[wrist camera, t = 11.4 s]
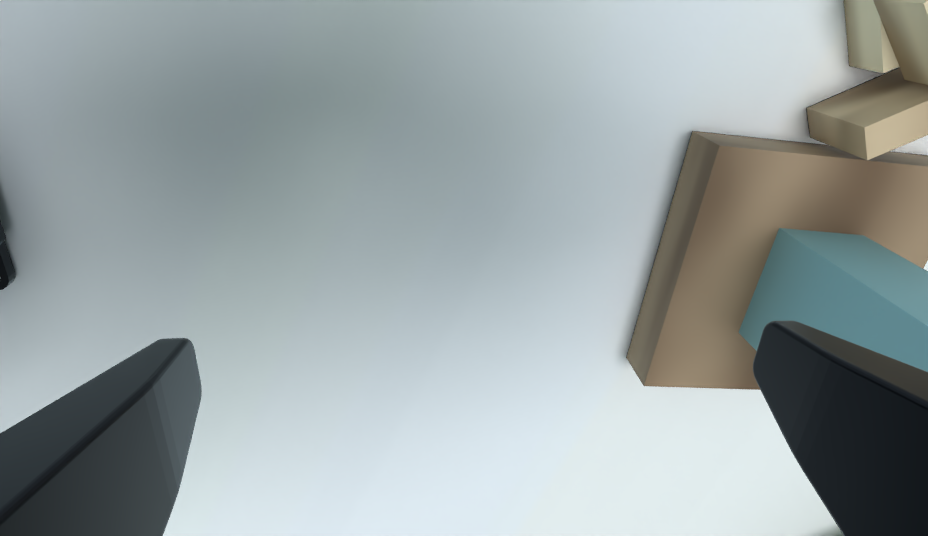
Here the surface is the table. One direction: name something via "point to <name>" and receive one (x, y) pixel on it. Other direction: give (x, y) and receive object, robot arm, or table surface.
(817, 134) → the frame
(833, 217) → the base block
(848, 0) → the offcut low
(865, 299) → the teal block
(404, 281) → the table surface
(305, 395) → the table surface
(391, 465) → the table surface
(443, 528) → the table surface
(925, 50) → the offcut top
